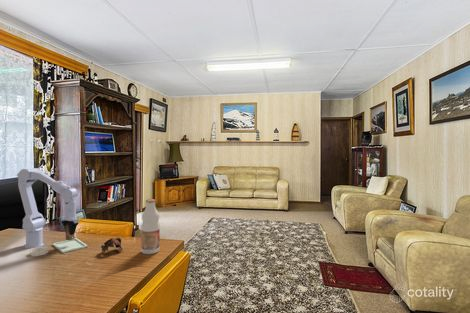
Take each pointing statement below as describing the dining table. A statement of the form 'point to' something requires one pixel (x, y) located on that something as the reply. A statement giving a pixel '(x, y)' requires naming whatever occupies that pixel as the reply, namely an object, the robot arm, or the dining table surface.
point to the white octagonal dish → (39, 251)
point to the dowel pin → (68, 236)
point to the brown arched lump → (110, 244)
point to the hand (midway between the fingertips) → (70, 233)
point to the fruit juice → (150, 229)
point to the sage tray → (69, 245)
